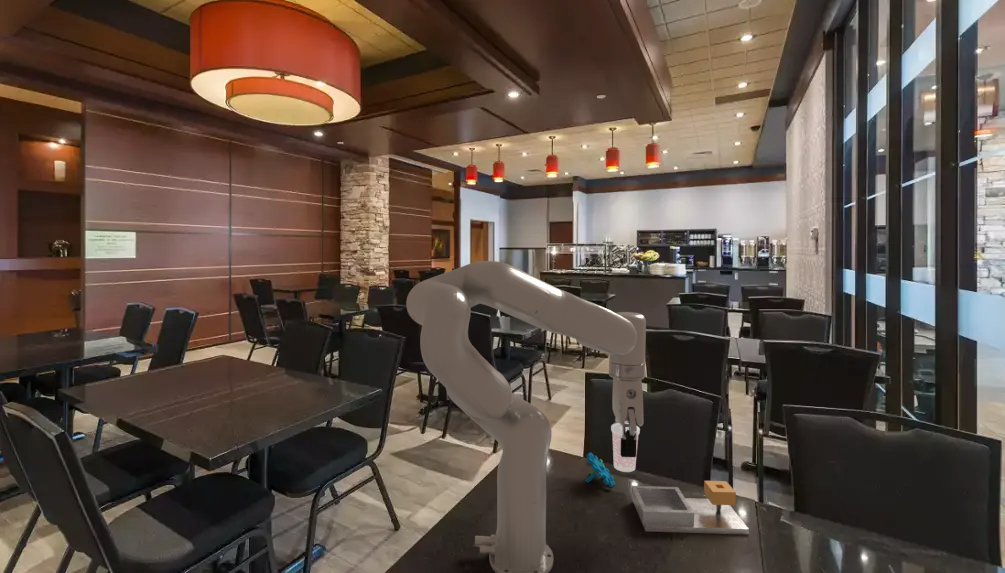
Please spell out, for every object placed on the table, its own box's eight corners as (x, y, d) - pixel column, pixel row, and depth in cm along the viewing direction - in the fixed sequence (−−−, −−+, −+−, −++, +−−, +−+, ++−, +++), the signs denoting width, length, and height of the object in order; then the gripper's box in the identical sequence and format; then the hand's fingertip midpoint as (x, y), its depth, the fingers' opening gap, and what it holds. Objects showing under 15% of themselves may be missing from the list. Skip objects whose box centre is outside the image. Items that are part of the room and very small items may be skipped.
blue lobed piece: (616, 489, 116) (588, 457, 118) (599, 504, 117) (571, 472, 119) (617, 474, 127) (591, 445, 129) (601, 488, 127) (576, 459, 130)
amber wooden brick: (712, 504, 104) (712, 491, 104) (703, 493, 109) (704, 480, 109) (735, 505, 104) (735, 492, 103) (725, 493, 109) (726, 481, 108)
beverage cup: (606, 461, 105) (607, 401, 104) (632, 460, 106) (633, 400, 105) (615, 474, 99) (617, 410, 98) (643, 472, 100) (645, 409, 99)
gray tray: (643, 531, 101) (643, 512, 101) (630, 501, 113) (631, 484, 113) (748, 534, 100) (749, 515, 100) (725, 504, 112) (725, 486, 112)
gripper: (655, 381, 92) (652, 468, 94) (634, 360, 109) (632, 434, 111) (617, 380, 93) (615, 467, 94) (602, 359, 110) (601, 433, 111)
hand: (624, 448), depth 102 cm, fingers closed on beverage cup, 6 cm apart
